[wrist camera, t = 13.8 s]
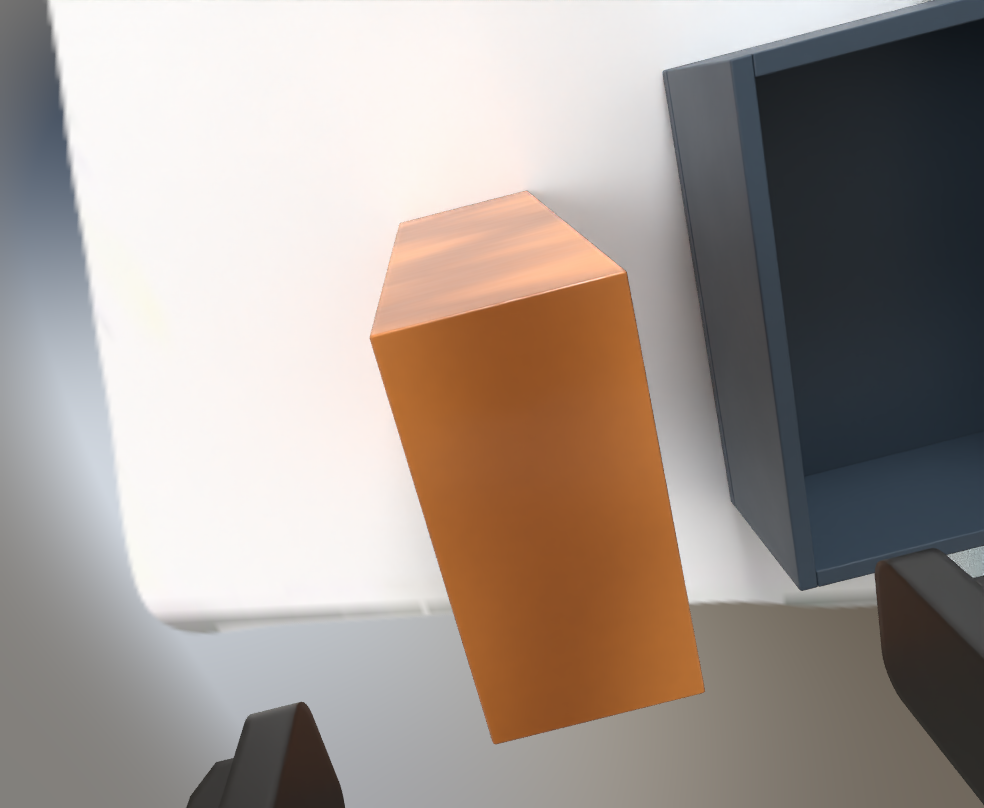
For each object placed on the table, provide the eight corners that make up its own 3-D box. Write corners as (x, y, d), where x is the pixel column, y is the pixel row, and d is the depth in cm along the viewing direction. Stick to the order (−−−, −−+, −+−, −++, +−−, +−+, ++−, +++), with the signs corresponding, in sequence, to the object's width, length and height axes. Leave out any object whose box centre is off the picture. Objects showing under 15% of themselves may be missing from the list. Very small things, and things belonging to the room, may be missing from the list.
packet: (527, 190, 28) (627, 270, 14) (580, 429, 31) (706, 693, 17) (398, 223, 28) (368, 336, 14) (464, 458, 31) (493, 746, 17)
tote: (996, -16, 27) (1162, -53, 21) (1009, 432, 32) (1143, 506, 26) (661, 70, 27) (729, 58, 21) (730, 502, 33) (800, 592, 27)
